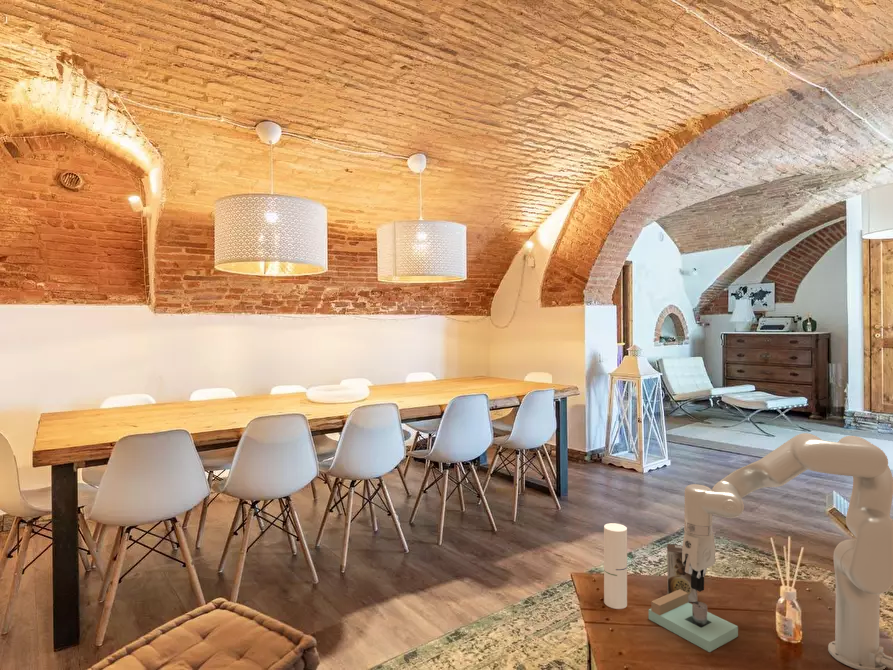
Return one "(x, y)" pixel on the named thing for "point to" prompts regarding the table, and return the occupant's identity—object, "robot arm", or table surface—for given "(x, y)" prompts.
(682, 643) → the table surface
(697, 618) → the grey upright block
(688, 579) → the coffee box
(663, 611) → the jig
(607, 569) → the cylindrical container
